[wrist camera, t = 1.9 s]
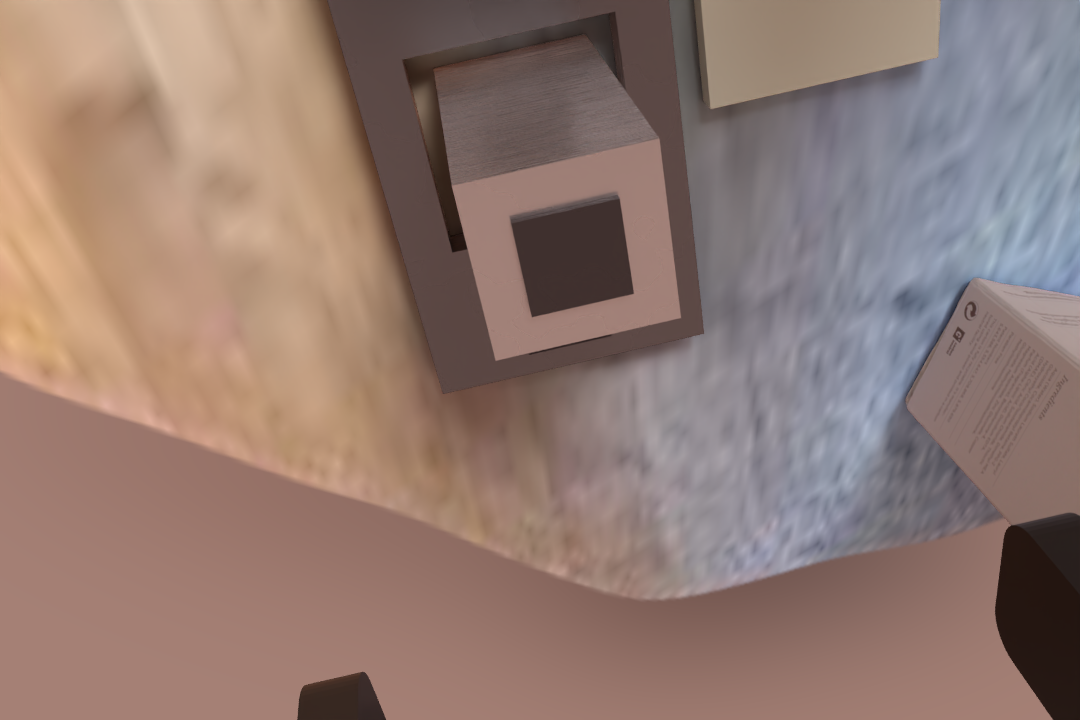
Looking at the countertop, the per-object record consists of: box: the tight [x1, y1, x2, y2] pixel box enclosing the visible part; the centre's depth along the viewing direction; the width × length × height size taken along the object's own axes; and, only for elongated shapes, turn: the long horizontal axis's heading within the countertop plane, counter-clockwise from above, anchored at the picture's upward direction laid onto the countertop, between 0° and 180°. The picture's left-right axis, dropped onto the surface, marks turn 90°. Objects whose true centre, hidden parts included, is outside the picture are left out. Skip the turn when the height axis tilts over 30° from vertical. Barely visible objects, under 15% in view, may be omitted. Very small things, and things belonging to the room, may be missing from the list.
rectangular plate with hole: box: [327, 0, 704, 394], centre depth 29 cm, size 9×16×1 cm, turn 11°
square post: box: [433, 34, 681, 361], centre depth 25 cm, size 4×4×9 cm
